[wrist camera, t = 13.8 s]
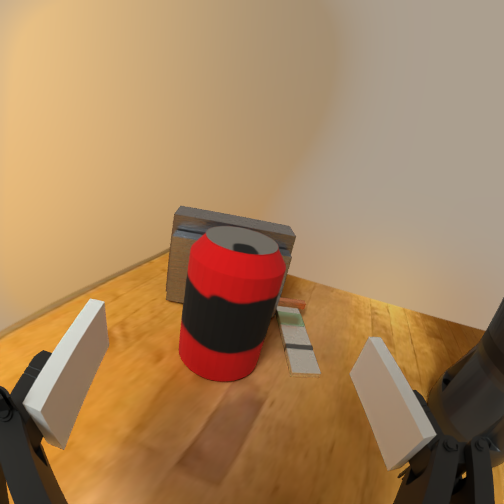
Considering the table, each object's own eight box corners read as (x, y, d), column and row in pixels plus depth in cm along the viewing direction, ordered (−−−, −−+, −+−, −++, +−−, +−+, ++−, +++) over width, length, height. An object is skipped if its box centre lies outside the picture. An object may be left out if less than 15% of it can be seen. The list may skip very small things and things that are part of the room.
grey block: (291, 292, 41) (307, 241, 38) (301, 320, 35) (321, 262, 32) (176, 273, 39) (183, 218, 36) (166, 299, 32) (172, 235, 30)
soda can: (176, 380, 22) (190, 251, 18) (180, 327, 29) (195, 217, 25) (262, 385, 24) (303, 267, 19) (250, 334, 31) (278, 230, 26)
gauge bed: (291, 296, 41) (311, 230, 37) (318, 377, 26) (358, 292, 22) (171, 276, 38) (180, 205, 35) (141, 355, 24) (143, 256, 20)
